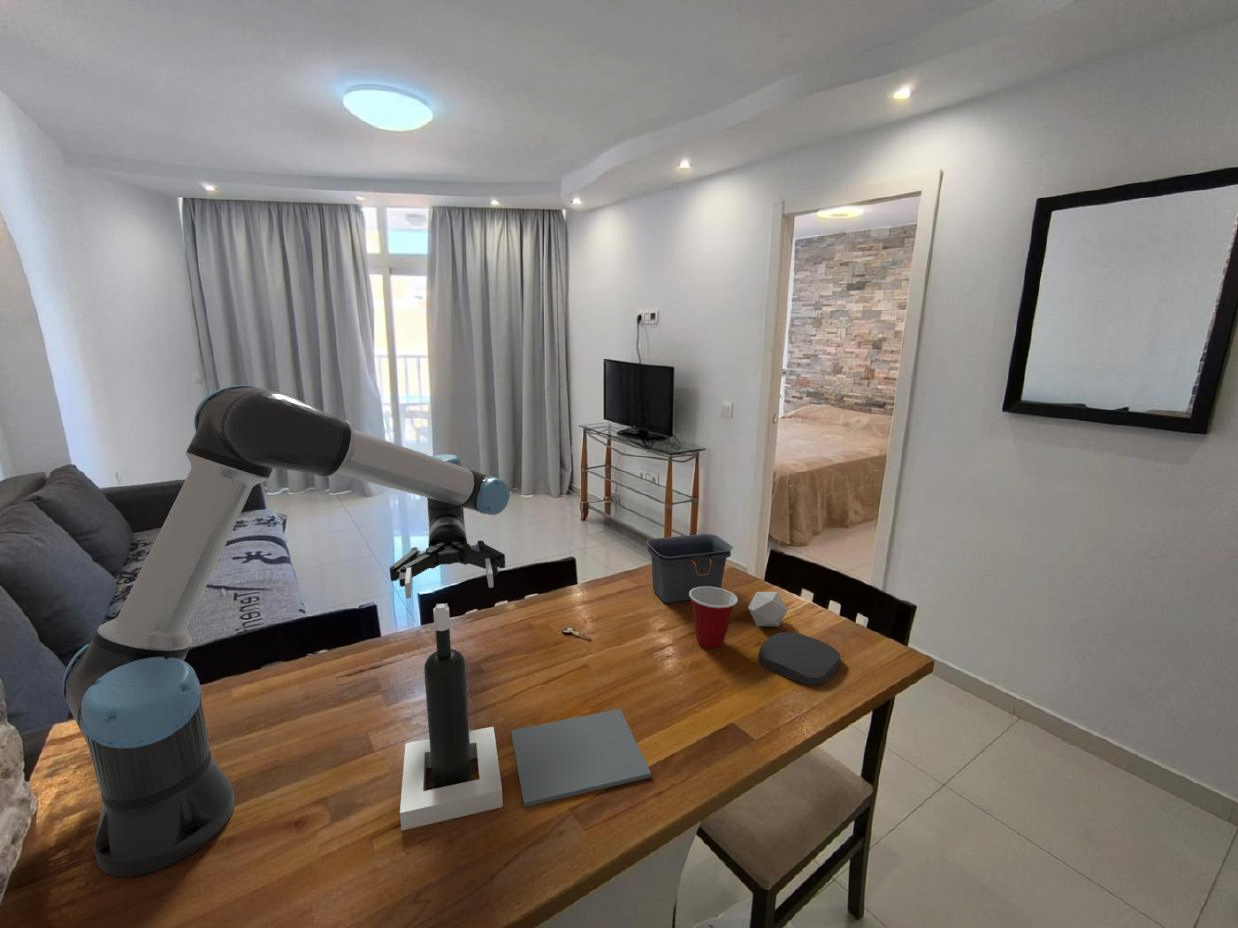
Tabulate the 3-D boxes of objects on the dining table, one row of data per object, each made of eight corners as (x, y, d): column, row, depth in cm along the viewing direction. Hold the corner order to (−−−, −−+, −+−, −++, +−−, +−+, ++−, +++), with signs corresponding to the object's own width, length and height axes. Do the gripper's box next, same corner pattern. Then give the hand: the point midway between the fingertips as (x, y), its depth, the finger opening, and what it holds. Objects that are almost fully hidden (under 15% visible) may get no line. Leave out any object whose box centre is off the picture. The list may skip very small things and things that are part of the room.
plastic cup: (743, 642, 127) (747, 594, 124) (717, 661, 119) (720, 611, 116) (704, 625, 134) (706, 579, 131) (677, 642, 126) (679, 594, 123)
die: (777, 639, 129) (798, 603, 130) (746, 619, 130) (766, 583, 131) (767, 633, 137) (787, 599, 139) (738, 614, 138) (757, 581, 139)
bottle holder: (401, 830, 78) (399, 812, 77) (406, 758, 91) (405, 743, 90) (502, 806, 82) (502, 789, 81) (494, 741, 95) (493, 726, 94)
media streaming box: (817, 692, 110) (818, 679, 109) (751, 663, 119) (752, 650, 119) (845, 661, 120) (846, 649, 120) (782, 637, 130) (783, 625, 129)
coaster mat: (524, 807, 82) (523, 802, 82) (511, 734, 97) (511, 730, 96) (650, 777, 88) (651, 772, 88) (620, 712, 103) (620, 708, 102)
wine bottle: (448, 803, 82) (435, 620, 75) (425, 784, 86) (411, 607, 79) (479, 779, 87) (470, 604, 80) (456, 762, 90) (445, 592, 83)
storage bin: (709, 578, 160) (712, 531, 156) (738, 602, 145) (741, 551, 142) (641, 588, 153) (642, 539, 149) (664, 614, 139) (665, 561, 135)
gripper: (509, 550, 119) (524, 595, 99) (384, 565, 111) (373, 616, 92) (508, 517, 117) (522, 556, 97) (380, 529, 110) (368, 574, 90)
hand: (450, 585), depth 95 cm, fingers open, 13 cm apart
